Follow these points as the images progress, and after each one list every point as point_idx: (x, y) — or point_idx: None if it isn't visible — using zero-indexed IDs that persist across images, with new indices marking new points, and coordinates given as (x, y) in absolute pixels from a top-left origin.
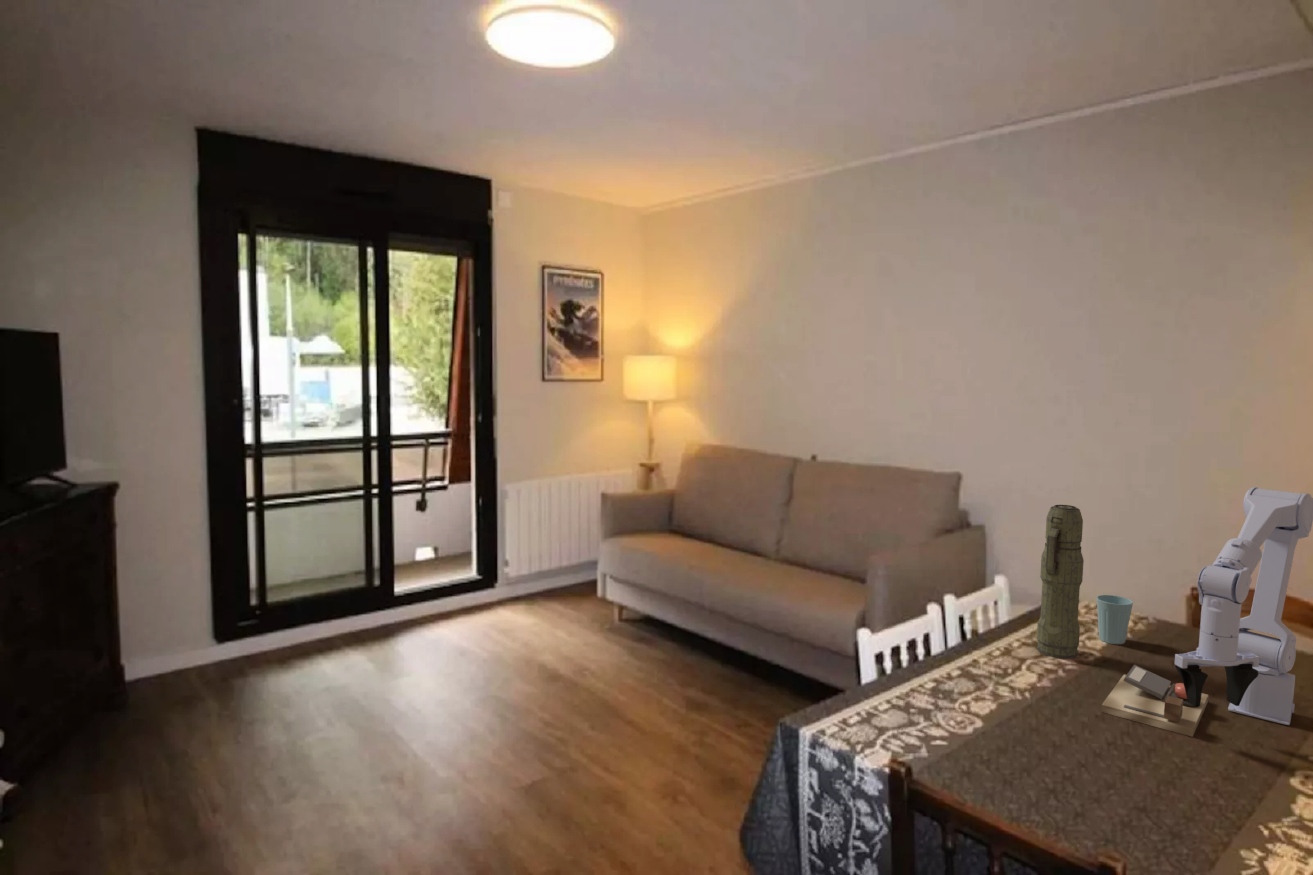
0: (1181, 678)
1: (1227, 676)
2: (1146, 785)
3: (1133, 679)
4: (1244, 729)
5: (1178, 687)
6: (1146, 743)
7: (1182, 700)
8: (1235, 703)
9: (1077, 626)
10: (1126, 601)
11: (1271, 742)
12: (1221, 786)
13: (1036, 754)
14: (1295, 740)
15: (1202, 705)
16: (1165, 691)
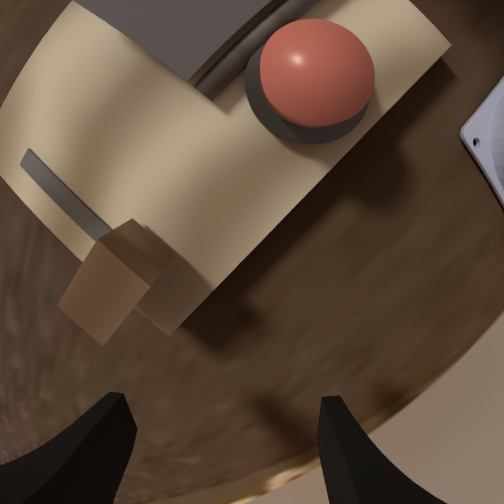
0: (28, 454)
1: (352, 498)
2: (26, 436)
3: None
4: (404, 271)
5: (263, 73)
6: (42, 336)
7: (140, 296)
8: (319, 438)
9: None
10: None
11: (406, 349)
12: (130, 470)
13: None
14: (473, 332)
15: (363, 128)
16: (234, 32)
